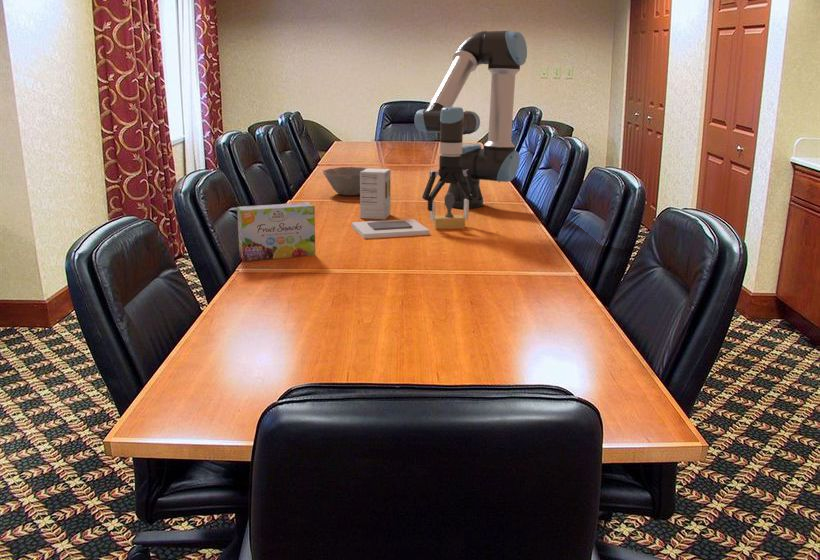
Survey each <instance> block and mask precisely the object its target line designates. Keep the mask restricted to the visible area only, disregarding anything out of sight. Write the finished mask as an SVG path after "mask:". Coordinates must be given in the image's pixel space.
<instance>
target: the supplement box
mask: <svg viewBox="0 0 820 560" xmlns="http://www.w3.org/2000/svg"><path fill="white" fill-rule="evenodd" d="M359 200H360V201H359V202H360V203H359V205H360V206H359V209H360V210H359V211H360V213H359V215H360V216H359V218H360V219H368V220H369V219H371V220H382V221H385V220H386V219H387V218H388V217H389V216H391V169H390V168H389V169H388V168H369V169H365V170H363V171H361V172H360V194H359Z"/></svg>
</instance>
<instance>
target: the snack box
mask: <svg viewBox="0 0 820 560" xmlns="http://www.w3.org/2000/svg"><path fill="white" fill-rule="evenodd" d="M315 209H316V208H315V205H314V204H312V203H311V202H294V203H279V204H278V203H277V204H264V205H263V204H261V205H247V206H245V205H244V206H237V207H236V211H237V213H236V214H237V231H238V235H237V236H238V251H239V258H240V259H241V261H242V262H251V261H262V260H263V261H265V260H274V259H276V260H277V259H286V258H298V257H299V258H300V257H309V256H316V212H315V211H316V210H315Z"/></svg>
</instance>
